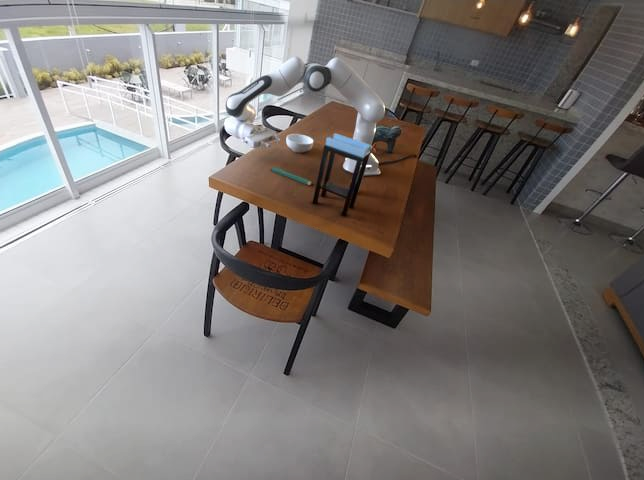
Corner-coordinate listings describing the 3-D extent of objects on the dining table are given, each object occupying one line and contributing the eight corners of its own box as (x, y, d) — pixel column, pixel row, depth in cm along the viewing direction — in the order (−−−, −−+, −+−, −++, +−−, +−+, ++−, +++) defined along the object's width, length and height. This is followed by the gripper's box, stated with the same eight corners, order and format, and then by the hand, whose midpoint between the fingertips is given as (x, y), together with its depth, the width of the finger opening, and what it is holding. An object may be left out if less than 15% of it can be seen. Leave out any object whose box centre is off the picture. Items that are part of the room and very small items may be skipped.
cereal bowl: (309, 158, 182) (311, 146, 177) (282, 152, 182) (283, 140, 178) (313, 148, 194) (315, 136, 189) (288, 142, 195) (289, 131, 190)
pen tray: (325, 144, 126) (327, 137, 124) (333, 140, 131) (334, 133, 129) (363, 157, 121) (365, 150, 119) (369, 152, 126) (371, 145, 124)
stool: (312, 203, 143) (323, 145, 125) (322, 194, 150) (334, 139, 132) (345, 216, 138) (361, 159, 120) (353, 207, 146) (370, 151, 128)
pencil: (271, 170, 162) (271, 168, 161) (274, 169, 164) (274, 166, 163) (310, 186, 155) (311, 183, 154) (312, 184, 157) (313, 182, 156)
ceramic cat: (393, 151, 210) (404, 121, 197) (394, 155, 206) (405, 124, 192) (365, 146, 210) (374, 115, 197) (365, 149, 205) (375, 118, 192)
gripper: (239, 133, 148) (262, 142, 145) (263, 123, 162) (285, 132, 159) (239, 145, 153) (261, 155, 149) (262, 135, 167) (283, 144, 163)
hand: (274, 143), depth 154 cm, fingers open, 8 cm apart
